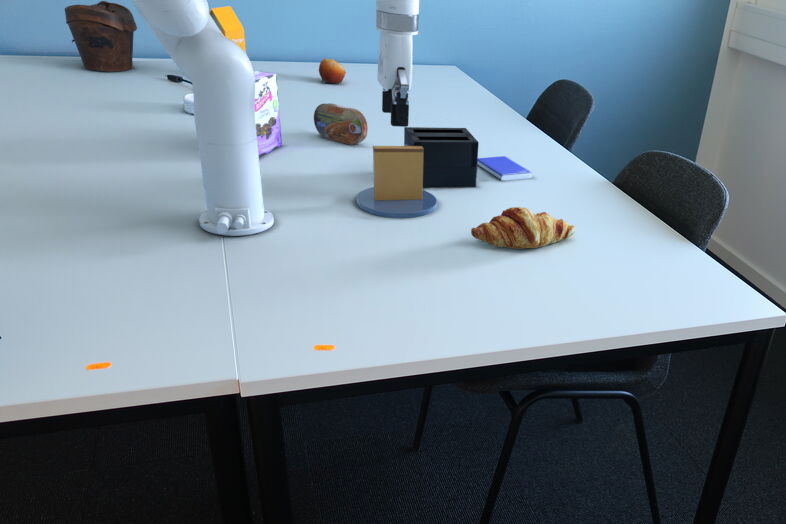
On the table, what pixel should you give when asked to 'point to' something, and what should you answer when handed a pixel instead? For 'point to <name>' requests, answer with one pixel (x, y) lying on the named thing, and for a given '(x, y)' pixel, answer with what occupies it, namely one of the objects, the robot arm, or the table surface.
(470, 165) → the toaster
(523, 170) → the blue book
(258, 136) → the candy box
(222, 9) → the orange juice
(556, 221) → the croissant
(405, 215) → the plate
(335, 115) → the tin
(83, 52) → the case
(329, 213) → the table surface
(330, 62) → the fruit
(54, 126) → the table surface
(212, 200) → the robot arm
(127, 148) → the table surface
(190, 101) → the white round container
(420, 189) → the toast
